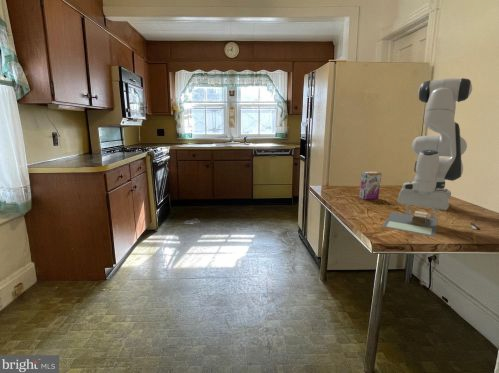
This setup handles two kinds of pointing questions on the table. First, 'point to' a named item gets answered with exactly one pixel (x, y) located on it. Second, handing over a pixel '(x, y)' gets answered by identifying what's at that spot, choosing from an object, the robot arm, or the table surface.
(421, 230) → the rubber mat
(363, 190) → the candy bar box
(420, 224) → the beige rectangular block
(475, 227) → the chocolate bar
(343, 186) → the table surface
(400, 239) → the table surface
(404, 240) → the table surface
